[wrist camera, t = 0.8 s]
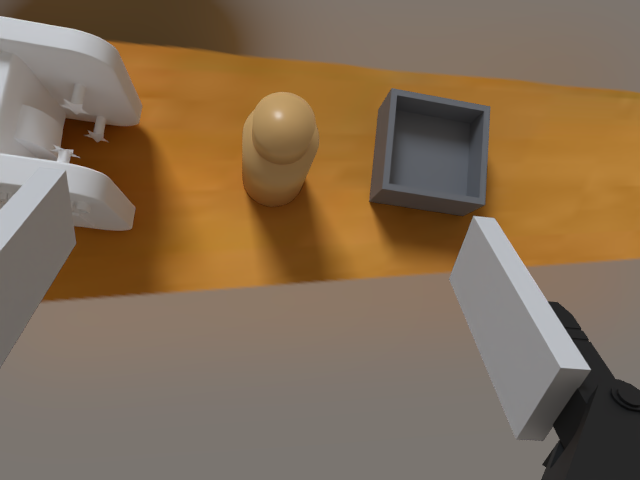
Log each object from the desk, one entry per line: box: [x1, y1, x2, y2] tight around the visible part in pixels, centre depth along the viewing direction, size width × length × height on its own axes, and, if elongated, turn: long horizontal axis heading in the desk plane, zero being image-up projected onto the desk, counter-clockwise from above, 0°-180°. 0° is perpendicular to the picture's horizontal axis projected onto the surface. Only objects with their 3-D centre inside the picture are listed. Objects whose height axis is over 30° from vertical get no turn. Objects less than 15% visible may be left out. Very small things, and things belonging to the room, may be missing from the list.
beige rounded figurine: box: [242, 92, 319, 207], centre depth 36 cm, size 5×5×12 cm
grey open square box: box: [369, 88, 490, 216], centre depth 42 cm, size 8×8×4 cm
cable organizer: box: [0, 16, 142, 231], centre depth 33 cm, size 15×11×12 cm
